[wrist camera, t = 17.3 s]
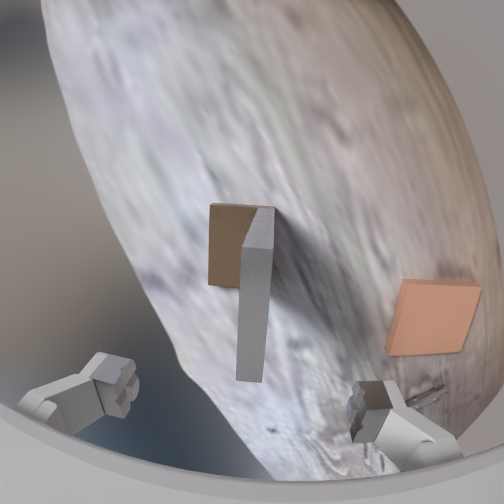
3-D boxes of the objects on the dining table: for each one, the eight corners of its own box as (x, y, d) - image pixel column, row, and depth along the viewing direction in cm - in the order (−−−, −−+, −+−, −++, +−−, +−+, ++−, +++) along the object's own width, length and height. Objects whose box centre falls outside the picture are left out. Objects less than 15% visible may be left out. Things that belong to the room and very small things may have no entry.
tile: (408, 284, 29) (482, 286, 28) (401, 277, 31) (473, 280, 30) (388, 356, 31) (460, 351, 30) (383, 346, 33) (453, 343, 32)
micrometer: (357, 444, 38) (360, 456, 36) (348, 419, 37) (351, 432, 34) (444, 408, 36) (450, 418, 33) (443, 379, 34) (450, 390, 31)
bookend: (213, 203, 30) (152, 240, 15) (274, 206, 29) (273, 249, 14) (211, 279, 32) (162, 369, 17) (268, 284, 31) (261, 382, 16)
